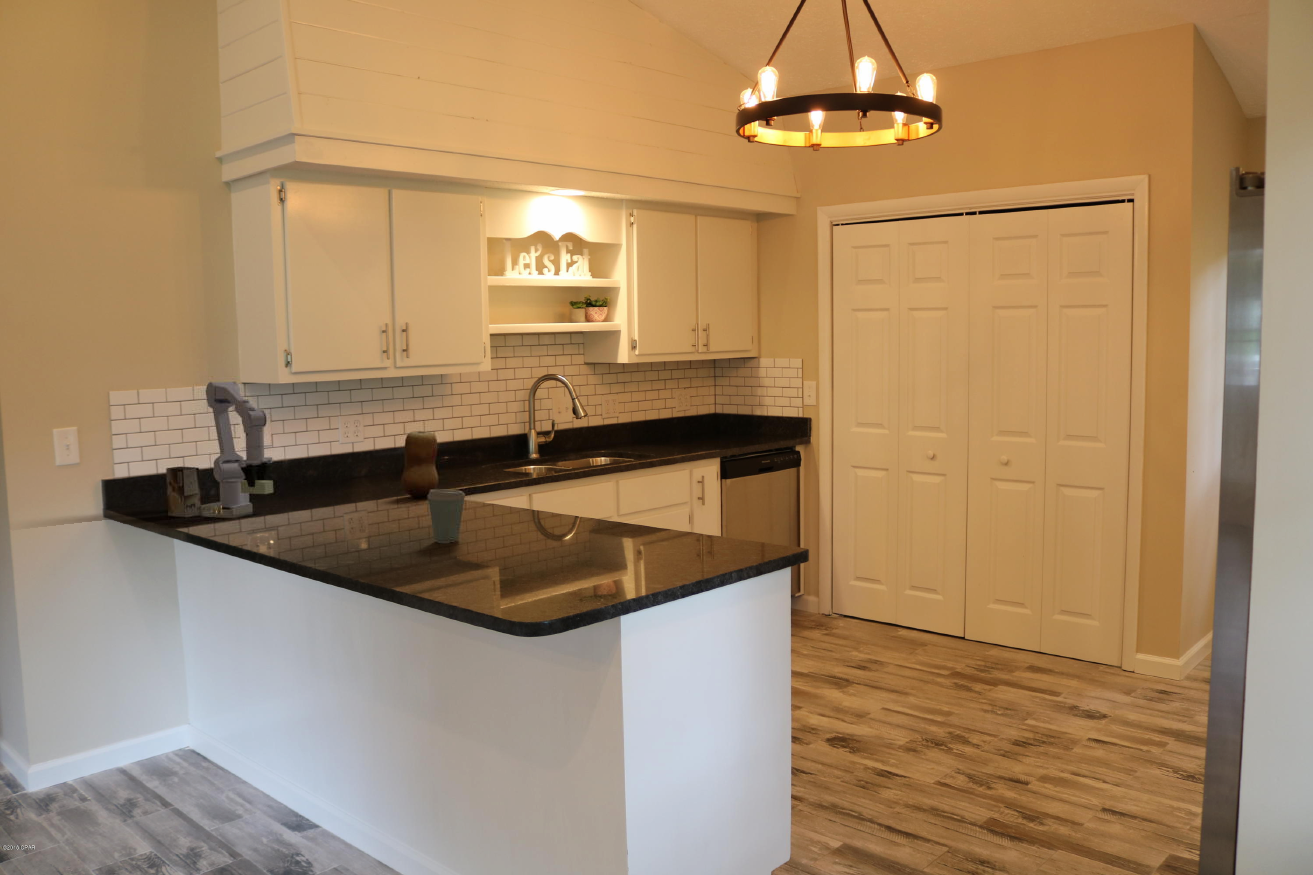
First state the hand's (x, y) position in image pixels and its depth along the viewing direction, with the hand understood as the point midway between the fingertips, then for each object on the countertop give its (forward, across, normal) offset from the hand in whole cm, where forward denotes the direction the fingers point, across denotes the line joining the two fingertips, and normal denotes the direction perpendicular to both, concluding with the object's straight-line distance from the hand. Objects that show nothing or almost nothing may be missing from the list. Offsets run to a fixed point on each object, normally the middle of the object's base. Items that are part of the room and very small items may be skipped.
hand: (256, 486), depth 342 cm
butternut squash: (+9, +49, -33) cm, 60 cm away
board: (+2, 0, 0) cm, 2 cm away
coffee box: (+9, -14, +18) cm, 24 cm away
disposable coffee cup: (+9, -27, -90) cm, 94 cm away
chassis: (+9, -9, +5) cm, 14 cm away
